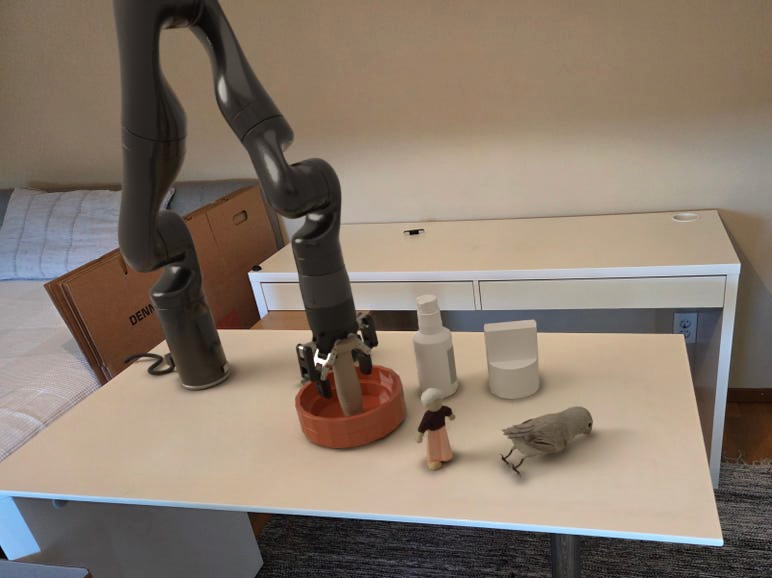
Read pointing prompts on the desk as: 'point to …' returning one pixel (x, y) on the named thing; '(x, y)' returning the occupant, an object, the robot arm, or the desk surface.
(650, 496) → the desk surface
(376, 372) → the bowl
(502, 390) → the base with upright slab
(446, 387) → the spray bottle
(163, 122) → the robot arm
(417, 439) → the grandmother figurine
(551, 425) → the decorative bird
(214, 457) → the desk surface
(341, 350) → the handle
